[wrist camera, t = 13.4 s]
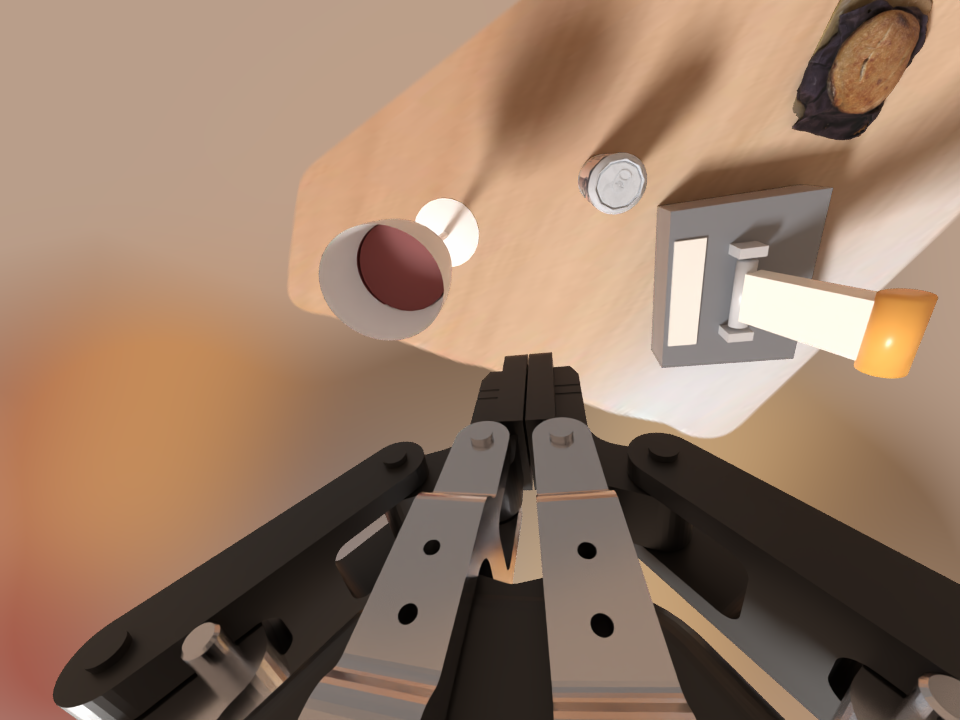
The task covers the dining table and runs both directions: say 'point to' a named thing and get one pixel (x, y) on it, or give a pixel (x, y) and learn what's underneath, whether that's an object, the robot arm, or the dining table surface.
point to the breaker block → (728, 270)
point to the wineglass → (397, 269)
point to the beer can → (613, 182)
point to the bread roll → (858, 64)
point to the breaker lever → (834, 317)
